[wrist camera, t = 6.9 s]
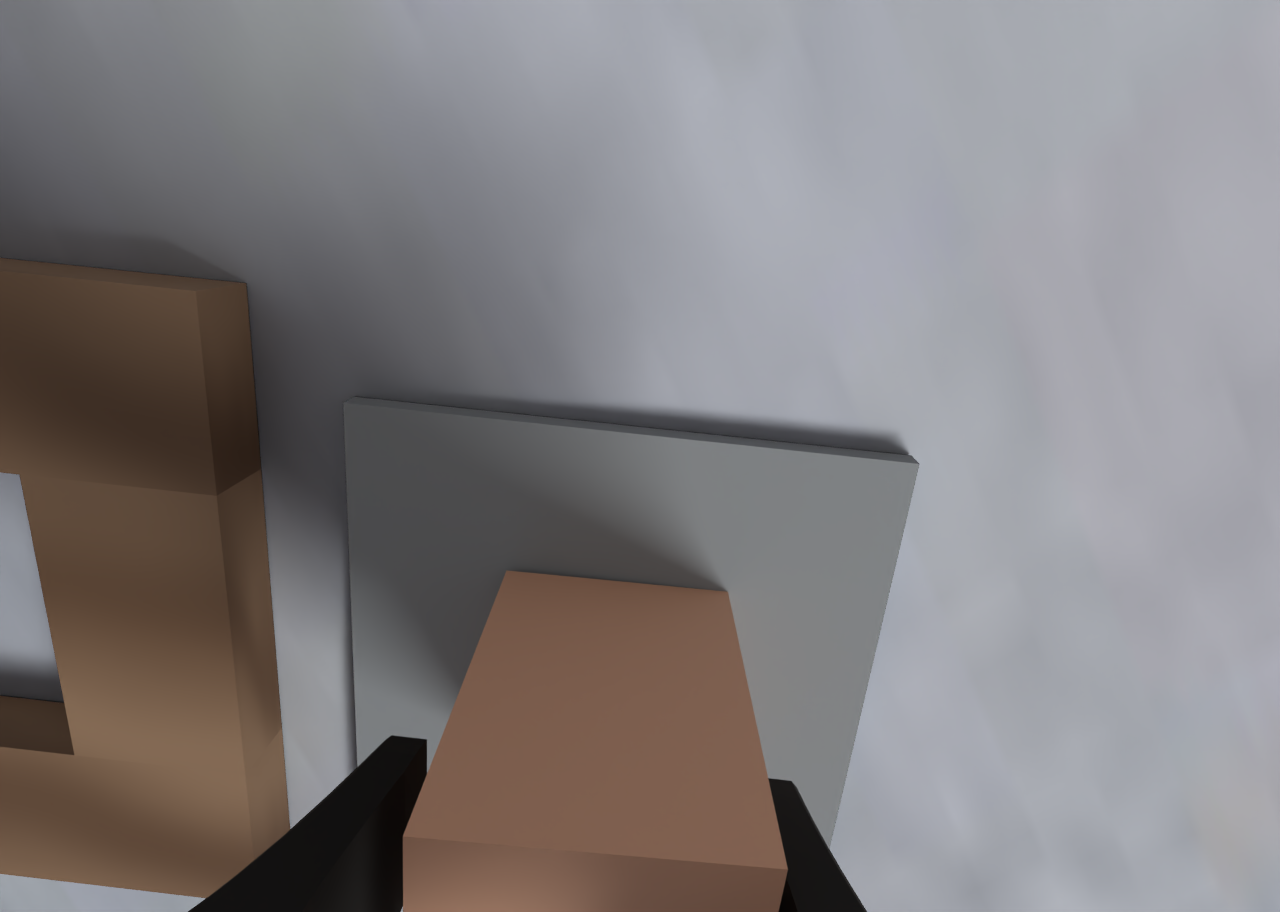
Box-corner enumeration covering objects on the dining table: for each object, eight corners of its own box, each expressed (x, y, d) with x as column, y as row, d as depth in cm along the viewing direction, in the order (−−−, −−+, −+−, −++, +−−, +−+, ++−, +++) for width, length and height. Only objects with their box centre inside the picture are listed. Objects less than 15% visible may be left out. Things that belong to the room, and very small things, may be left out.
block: (699, 769, 16) (732, 1117, 10) (497, 751, 16) (404, 1092, 10) (727, 591, 15) (788, 868, 8) (506, 570, 14) (403, 836, 8)
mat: (813, 880, 18) (817, 898, 17) (369, 828, 18) (360, 845, 17) (911, 455, 14) (919, 463, 13) (354, 396, 14) (343, 402, 14)
